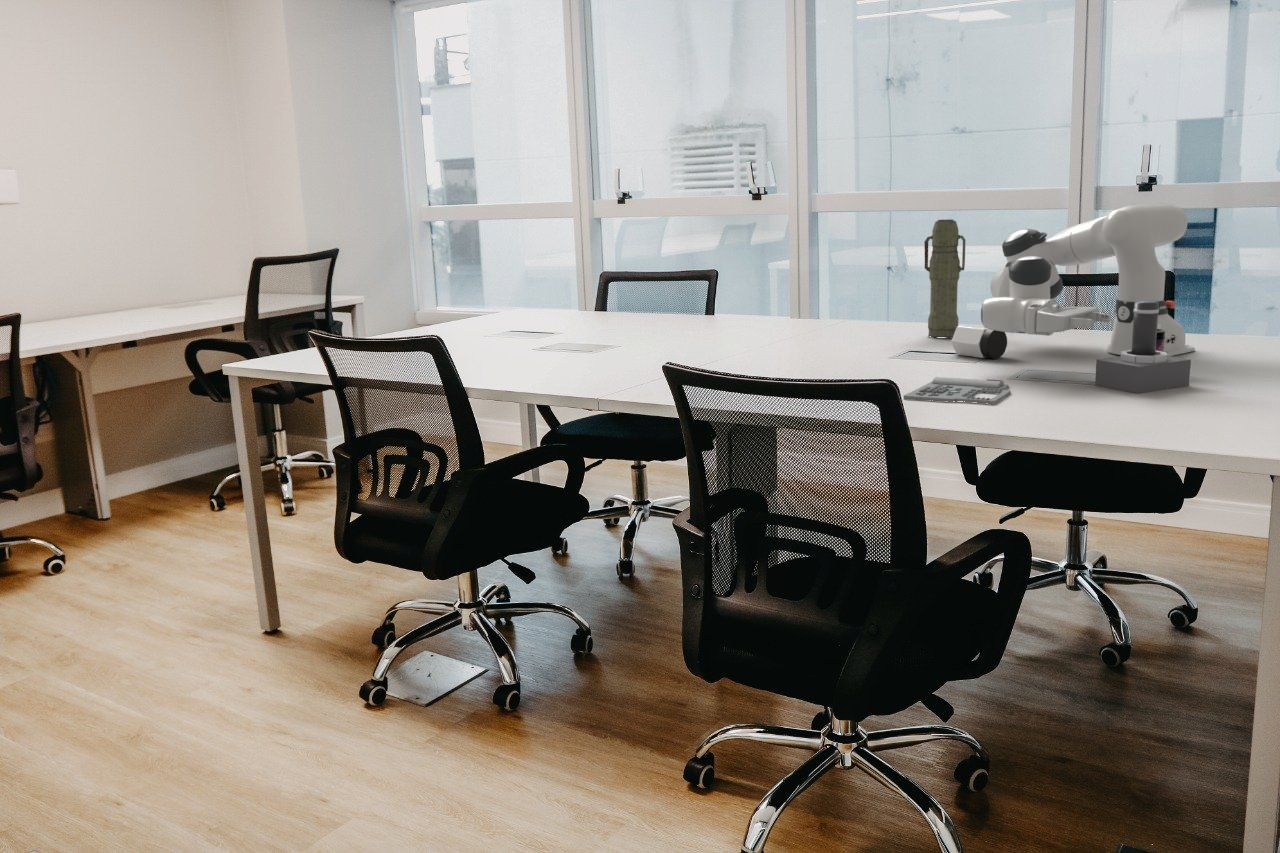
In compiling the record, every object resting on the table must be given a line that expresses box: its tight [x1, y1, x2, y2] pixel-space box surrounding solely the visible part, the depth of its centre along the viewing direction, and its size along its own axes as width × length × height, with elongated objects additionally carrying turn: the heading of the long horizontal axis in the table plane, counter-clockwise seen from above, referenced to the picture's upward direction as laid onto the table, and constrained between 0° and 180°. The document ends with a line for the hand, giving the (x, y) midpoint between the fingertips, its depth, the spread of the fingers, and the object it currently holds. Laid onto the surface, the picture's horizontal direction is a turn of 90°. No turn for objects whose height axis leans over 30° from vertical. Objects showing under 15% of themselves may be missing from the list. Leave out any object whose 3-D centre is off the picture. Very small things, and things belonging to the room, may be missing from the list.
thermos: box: [924, 219, 966, 338], centre depth 331 cm, size 9×12×35 cm
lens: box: [1131, 301, 1159, 356], centre depth 248 cm, size 5×5×13 cm
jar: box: [950, 324, 1008, 360], centre depth 296 cm, size 9×8×12 cm
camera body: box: [1094, 350, 1192, 394], centre depth 250 cm, size 16×12×8 cm
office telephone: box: [903, 376, 1012, 405], centre depth 251 cm, size 23×3×20 cm
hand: (1101, 320), depth 255 cm, fingers open, 8 cm apart
